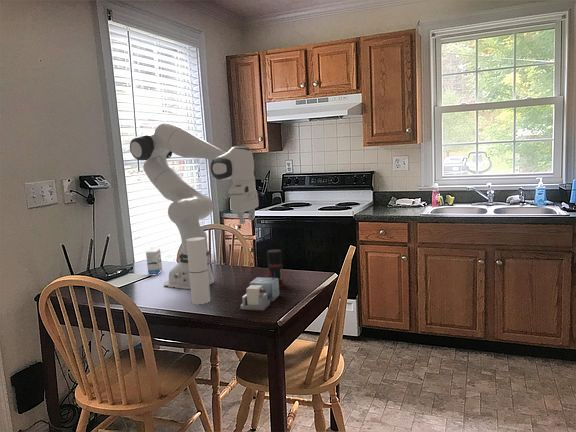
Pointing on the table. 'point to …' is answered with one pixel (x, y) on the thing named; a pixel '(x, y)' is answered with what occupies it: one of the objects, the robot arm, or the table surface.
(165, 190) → the robot arm
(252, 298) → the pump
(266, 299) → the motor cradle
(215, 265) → the table surface
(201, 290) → the cylindrical container
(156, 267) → the ink box
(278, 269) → the deodorant
